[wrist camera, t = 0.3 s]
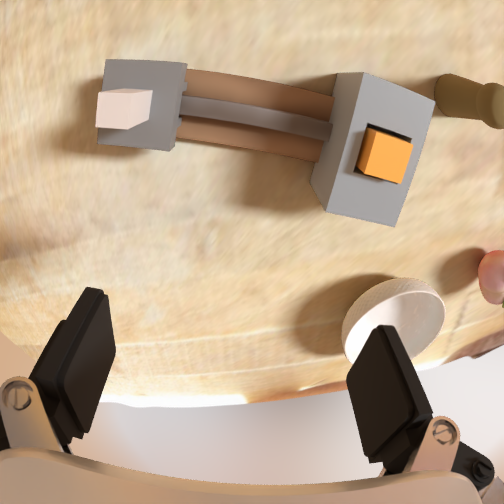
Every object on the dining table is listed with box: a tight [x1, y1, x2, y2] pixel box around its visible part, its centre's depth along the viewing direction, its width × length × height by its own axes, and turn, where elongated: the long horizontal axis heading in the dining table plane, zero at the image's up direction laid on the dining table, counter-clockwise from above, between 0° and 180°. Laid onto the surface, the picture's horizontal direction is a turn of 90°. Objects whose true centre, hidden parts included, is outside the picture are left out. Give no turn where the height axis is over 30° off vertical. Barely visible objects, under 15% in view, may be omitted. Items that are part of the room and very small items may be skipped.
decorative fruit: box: [478, 250, 504, 308], centre depth 40 cm, size 9×8×10 cm
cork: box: [434, 74, 504, 129], centre depth 27 cm, size 6×6×11 cm
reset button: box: [355, 127, 413, 184], centre depth 28 cm, size 4×4×4 cm
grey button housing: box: [310, 72, 435, 227], centre depth 32 cm, size 15×8×9 cm, turn 169°
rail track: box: [176, 69, 335, 163], centre depth 32 cm, size 8×24×4 cm, turn 79°
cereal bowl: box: [341, 278, 445, 364], centre depth 46 cm, size 17×17×7 cm
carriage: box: [95, 59, 188, 151], centre depth 27 cm, size 9×8×10 cm
